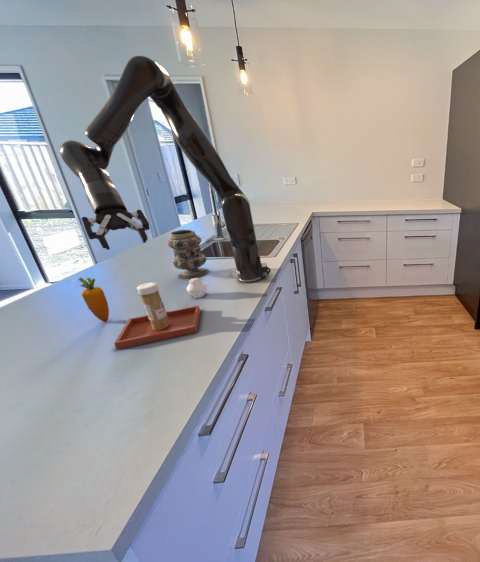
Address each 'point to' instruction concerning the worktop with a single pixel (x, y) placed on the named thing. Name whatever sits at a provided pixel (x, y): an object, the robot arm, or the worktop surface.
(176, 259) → the ornate carved vase
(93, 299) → the carrot
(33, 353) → the worktop surface
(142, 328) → the tray
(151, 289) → the sprinkles bottle
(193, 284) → the white rounded lump
